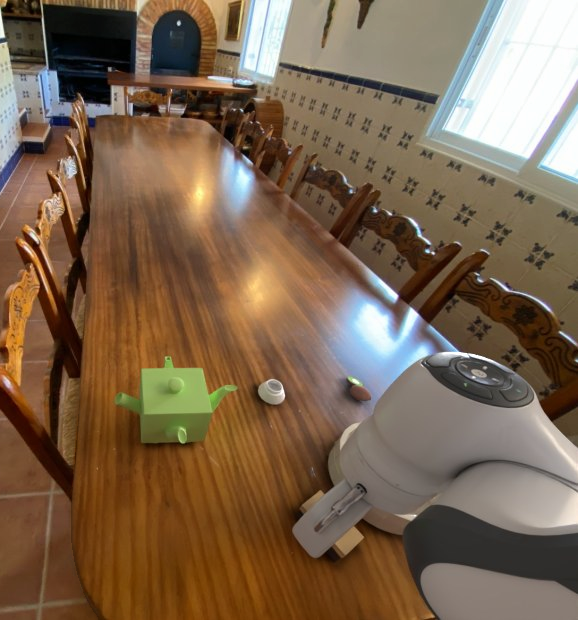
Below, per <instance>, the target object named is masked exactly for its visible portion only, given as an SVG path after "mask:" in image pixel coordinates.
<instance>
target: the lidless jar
mask: <svg viewBox="0 0 578 620" xmlns="http://www.w3.org/2000/svg"><path fill="white" fill-rule="evenodd" d="M257 394H258V396H259V397H260V399H261V400H263V401H264V402H265V403H266V404H269V405H276V406H277V405H280V404H282V403H283V402H284V400H285V397H286V394H285V390H284V387H283V384H282V382H281V381H279V380H277V379H276V378H275V379H273V378H271V379H268V380H266V381H264V382H262V383H261V384H259V385H258V388H257Z"/></svg>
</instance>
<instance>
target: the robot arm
mask: <svg viewBox="0 0 578 620" xmlns="http://www.w3.org/2000/svg"><path fill="white" fill-rule="evenodd" d="M373 407H374V408H373V411H372V412H373V413H372V414H371V415H369V416H367V417H366V418H363V420H362V421H360V422H361V423H360V424H359V426H358V427H357V428H356V429H355V431H354V432H353V433H352V435H351V436H350V437H349V438H348V440H347V441H346V442H345V444H344V445H343V446H342V448H341V451H340V456H339V460H340V466H341V469H342V472H343V474H344V476H345V478H344V479H343V480H342V481H341V482H339V483H338V484H337V485H336V486H334V485H333V487H332V488H331V489H329V490H328V491H327V492H326V493H324V494H325V495H323V496H322V497H321V498H320V499H319V500H318V501H317V502H316V503H315V504H314V505H312V507H311V508H310V509H309V510H308V511H307V512H306V513H305V514H304V515H303V516H302V517H301V518H300V519H298V520H297V522H296V523H295V524H294V525H293V526H292V529H291V531H292V534H293V536H294V538H295V539H296V541H297V542H298V543H299V544H300V546H301V547H302V548H303V549H304V551H305V552H306V553H307V554H308V555H309V556H310V557H312V558H313V559H318V558H320V557H322V555H324V554H325V553H327V552H326V551H327V550H328V549H329V548H330V547H331V546H332V545H333V544H335V543H336V542H337V541H338V540H339V539H340V538H341V537H342V536H343V535H344V534H346V533H347V532H348V531H349V530H350V529H351V528H352V527H353V526H354V527H355V525H357V524H358V523H359V522H360V521H361V520H362V519H363V517H364V516H365V515H366V514H367V513H368V512H369V511H370V510H371V509H372V508H374V507H376V508H378V509H380V510H382V511H385V512H388V513H392V514H397V515H406V514H411V513H413V512H415V511H417V510H418V509H419V508H421V507H422V506H423V505H425V504H426V503H427V502H429V501H430V500H431V499H432V498H434V497H435V496H436V495H438V494H439V493H440V494H441V495H440V497H439V498H438V499H437V500H436V501H435V502H434V503H433V504H432V505H431V506H429V507H427V508H426V509H425V510H424V511H422V512H421V513H420V514H419V515H418V516H417V517H415V518H414V519H413V520H412V521H411V522H410V523H408V524H407V525H406V527H405V528H404V531H403V535H401V536H402V539H401V540H402V545H403V551H404V555H405V560H406V563H407V567H408V569H409V572H410V575H411V577H412V578H411V579H413V582H414V585H415V587H416V589H417V591H418V593H419V595H420V597H421V599H422V600H423V602H424V604H425V605H426V607H427V608H428V610H429V611H430V612H431V614H432V616H434V618H435V619H436V620H578V446H576V445H575V444H573V442H572V441H570V440H569V439H568V438H567V437H566V436H565V435H564V434H563V433H562V432H561V431H560V430H559V429H558V428H557V426H556V425H554V423H553V422H552V421H551V420H550V418H549V416H548V415H547V413H545V412H544V410H543V408H542V406H541V403H540V402H539V398H538V395H537V394H536V392H535V390H534V388H533V387H532V386H531V384H529V383H528V381H527V380H526V379H524V378H523V377H521V376H520V375H519V374H518V373H517V372H515V371H513V370H512V369H510V368H509V367H507V366H505V365H503V364H501V363H499V362H497V361H495V360H492V359H490V358H486V357H484V356H481V355H478V354H477V355H476V354H473V353H466V352H461V351H460V352H459V351H440V352H435V353H431V354H428V355H425V356H423V357H422V358H419V359H418V360H416V361H414V362H413V363H411V364H410V365H409V366H408V367H407V368H405V369H404V370H403V372H402V373H401V374H399V376H397V377H396V378H395V380H394V381H393V382H391V384H390V385H389V386H388V387H387V388H386V389H385V391H384V392H383V393H382V395H381V396H380V397H379V398H378V400H377V401H376V403H375V405H374V406H373Z"/></svg>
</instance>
